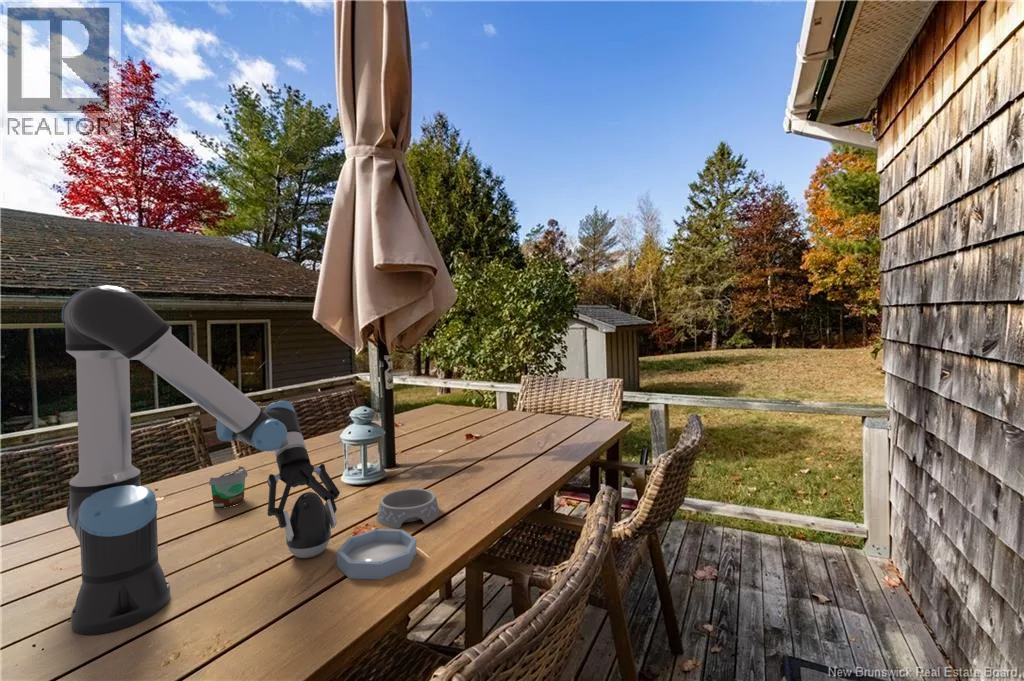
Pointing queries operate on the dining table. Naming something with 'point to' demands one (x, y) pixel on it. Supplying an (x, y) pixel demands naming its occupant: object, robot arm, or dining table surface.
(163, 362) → the robot arm
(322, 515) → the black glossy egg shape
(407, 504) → the dog bowl
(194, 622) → the dining table surface
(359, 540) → the bowl
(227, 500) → the food container
